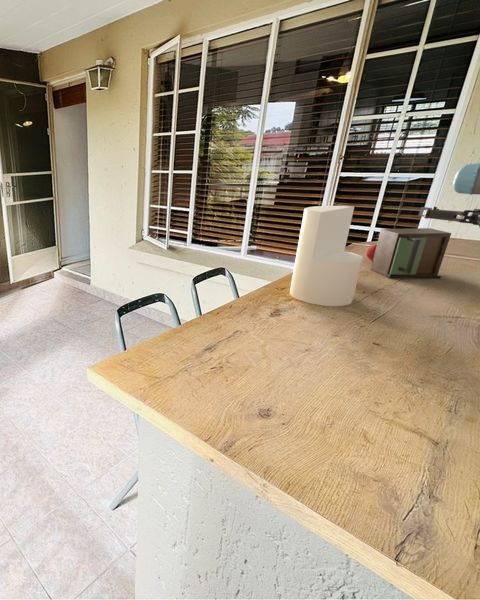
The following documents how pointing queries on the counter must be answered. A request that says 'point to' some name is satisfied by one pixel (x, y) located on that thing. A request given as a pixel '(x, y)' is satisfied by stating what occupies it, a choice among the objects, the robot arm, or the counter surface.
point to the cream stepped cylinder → (325, 258)
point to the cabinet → (430, 254)
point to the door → (407, 256)
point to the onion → (371, 252)
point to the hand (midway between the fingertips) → (447, 212)
